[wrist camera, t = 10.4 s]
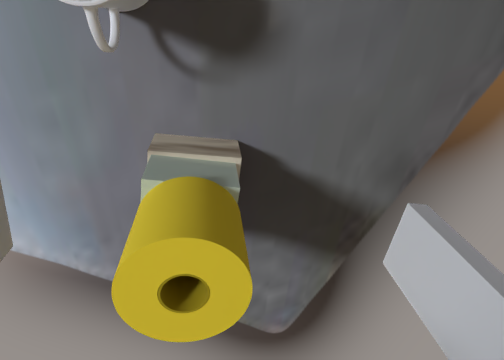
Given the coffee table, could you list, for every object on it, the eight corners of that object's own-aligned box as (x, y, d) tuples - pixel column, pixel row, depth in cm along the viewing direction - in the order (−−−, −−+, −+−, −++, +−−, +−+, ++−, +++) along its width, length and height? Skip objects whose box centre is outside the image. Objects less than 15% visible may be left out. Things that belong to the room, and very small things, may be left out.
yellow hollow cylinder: (225, 270, 36) (231, 347, 28) (128, 254, 34) (103, 334, 25) (253, 189, 32) (270, 251, 24) (146, 165, 30) (122, 225, 21)
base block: (155, 132, 41) (147, 150, 35) (237, 139, 42) (241, 158, 37) (154, 204, 45) (147, 230, 40) (229, 208, 47) (232, 233, 41)
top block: (151, 154, 36) (141, 179, 30) (235, 163, 37) (240, 188, 32) (148, 225, 39) (139, 258, 34) (225, 230, 41) (227, 263, 36)
